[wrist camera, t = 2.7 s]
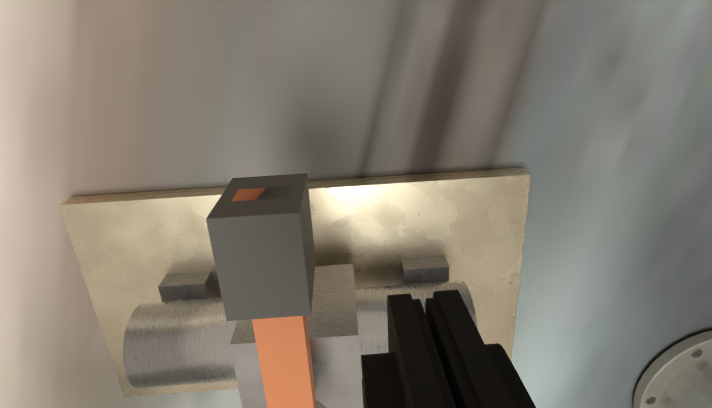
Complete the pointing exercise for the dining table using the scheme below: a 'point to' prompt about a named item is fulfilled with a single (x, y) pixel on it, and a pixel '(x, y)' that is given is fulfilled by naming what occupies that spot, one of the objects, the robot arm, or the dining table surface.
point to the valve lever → (270, 277)
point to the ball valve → (331, 277)
